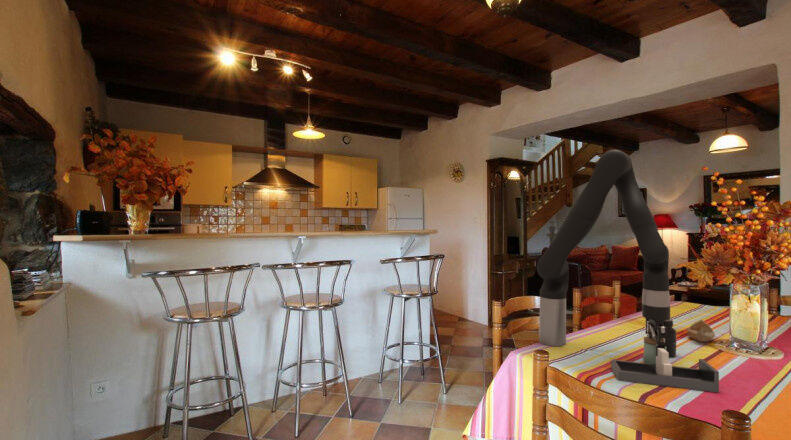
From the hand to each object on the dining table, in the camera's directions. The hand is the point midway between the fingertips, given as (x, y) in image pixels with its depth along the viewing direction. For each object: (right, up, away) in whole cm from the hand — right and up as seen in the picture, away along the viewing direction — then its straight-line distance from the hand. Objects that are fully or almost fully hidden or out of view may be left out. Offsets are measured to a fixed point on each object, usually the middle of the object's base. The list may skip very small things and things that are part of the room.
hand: (656, 353), depth 124 cm
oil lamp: (+35, -4, +26) cm, 44 cm away
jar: (0, -4, 0) cm, 4 cm away
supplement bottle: (+9, -4, +10) cm, 14 cm away
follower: (-6, -4, -11) cm, 13 cm away
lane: (-6, -4, -11) cm, 13 cm away
